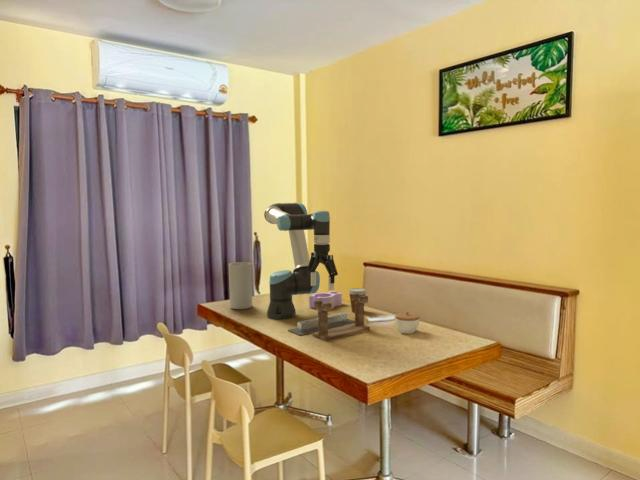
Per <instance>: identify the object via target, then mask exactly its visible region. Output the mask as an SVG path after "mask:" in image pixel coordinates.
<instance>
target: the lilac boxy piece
mask: <svg viewBox="0 0 640 480" xmlns="http://www.w3.org/2000/svg"><path fill="white" fill-rule="evenodd" d="M318 300H320V301H322V305H323V304H325V303H331V307H332V309H334V308H335V307H338V306H342V305H343V293H342V292H339V293H338V291H336V290H330V291H328V292H318V293H317V292H316V293H312V295H309V296H308V308H309V309H315V308H314V301H318ZM316 311H318V309H316Z"/></svg>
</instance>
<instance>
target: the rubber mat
mask: <svg viewBox="0 0 640 480" xmlns="http://www.w3.org/2000/svg"><path fill="white" fill-rule="evenodd" d="M351 323H355V320H353V319H351V318H347V321H345V322H341V323H337V324H333V325H329V326H328V329H331V328H335V327H339V326H343V325H347V324H351ZM287 331H288V332H290V333H292V334H294V335H297V336H305V335H310V334H313V333H314V332H318V328H316V329H312V330H308V331H303V332H300V331H298V327H294V328H291V329H290V328H289V329H287Z"/></svg>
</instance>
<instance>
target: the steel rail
mask: <svg viewBox="0 0 640 480" xmlns="http://www.w3.org/2000/svg"><path fill="white" fill-rule="evenodd" d="M347 319H348V313H347V312H344V311H342V312H341V311H340V312H338V313H333V314H328V326H329V325H333V324H337V323H341V322H345V321H347ZM296 325H297V326H296V327H297V328H298V331H300V332H303V331H308V330H312V329H316V328H318V317H315V318H310V319H309V318H308V319H306V320H300V321H297V324H296Z"/></svg>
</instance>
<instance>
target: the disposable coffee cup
mask: <svg viewBox="0 0 640 480" xmlns="http://www.w3.org/2000/svg"><path fill="white" fill-rule="evenodd" d="M355 293H356V294H359V298H360V296H366V294H367V291H366V289H365V288H362V287H361V288H359V287H358V288H357V287H353V288H349V291H348V295H349V301H350V307H351V312H352V313H354V314H355V301H351V294H355Z"/></svg>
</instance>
